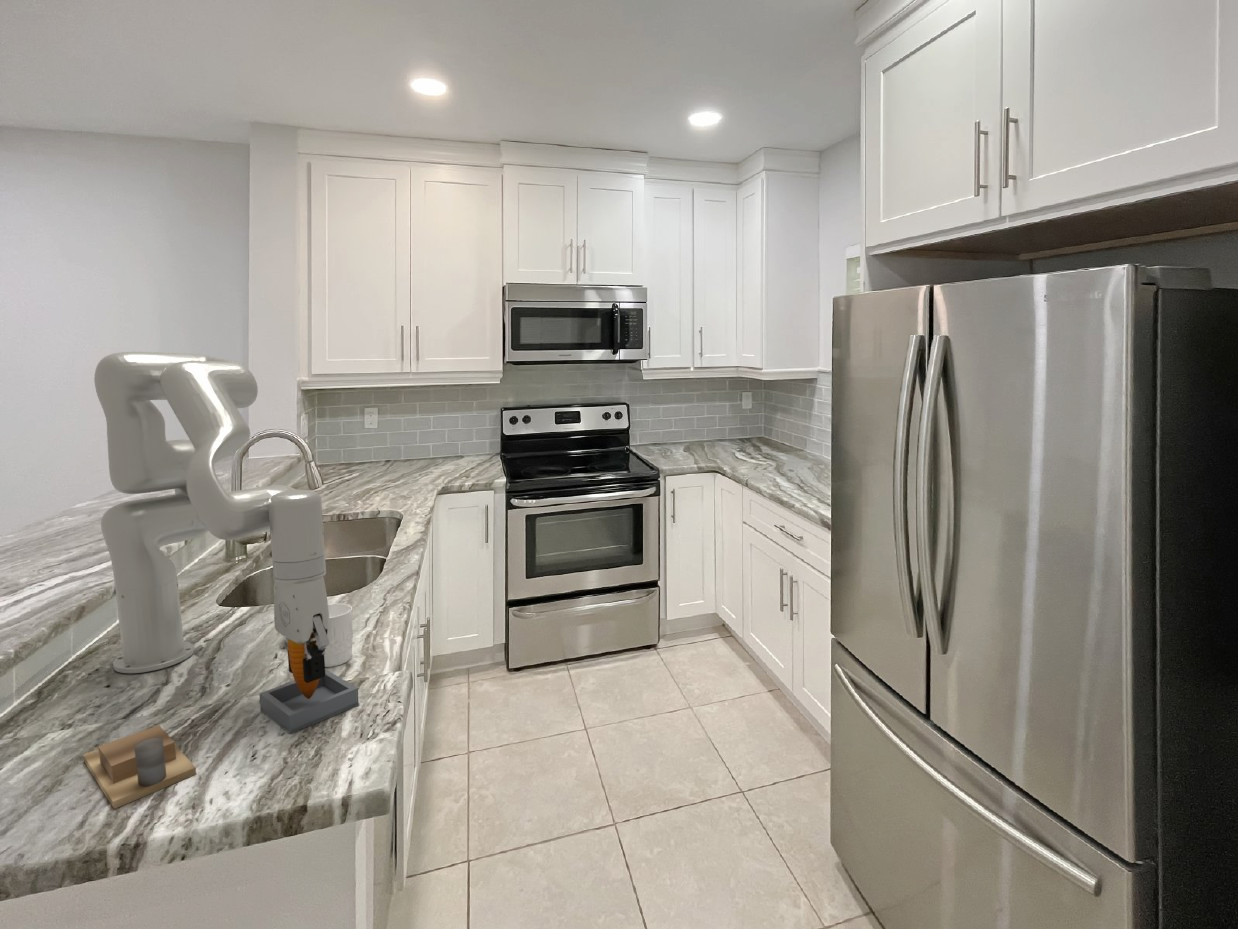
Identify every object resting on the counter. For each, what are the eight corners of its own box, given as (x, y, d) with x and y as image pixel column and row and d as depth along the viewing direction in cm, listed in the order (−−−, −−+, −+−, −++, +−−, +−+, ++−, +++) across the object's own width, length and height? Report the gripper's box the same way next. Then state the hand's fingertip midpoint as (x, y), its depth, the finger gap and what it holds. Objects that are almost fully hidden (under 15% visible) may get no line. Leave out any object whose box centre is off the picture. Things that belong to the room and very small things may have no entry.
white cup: (340, 670, 115) (337, 619, 114) (301, 667, 116) (298, 617, 115) (362, 652, 123) (360, 604, 122) (326, 650, 124) (323, 602, 123)
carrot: (332, 693, 103) (326, 608, 101) (308, 708, 99) (302, 618, 97) (309, 689, 105) (303, 604, 103) (284, 703, 100) (278, 615, 98)
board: (83, 761, 88) (78, 721, 87) (159, 733, 95) (155, 696, 94) (113, 809, 78) (108, 765, 77) (196, 774, 85) (192, 733, 84)
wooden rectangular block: (100, 763, 86) (98, 746, 85) (160, 740, 91) (159, 725, 91) (113, 783, 81) (111, 766, 81) (176, 758, 87) (174, 742, 86)
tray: (260, 710, 101) (259, 693, 101) (327, 685, 110) (325, 669, 109) (290, 734, 94) (289, 715, 94) (358, 705, 103) (357, 688, 102)
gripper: (252, 563, 101) (261, 668, 104) (299, 584, 91) (307, 700, 93) (299, 553, 107) (306, 652, 109) (348, 571, 97) (355, 681, 99)
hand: (307, 673), depth 101 cm, fingers closed on carrot, 4 cm apart
